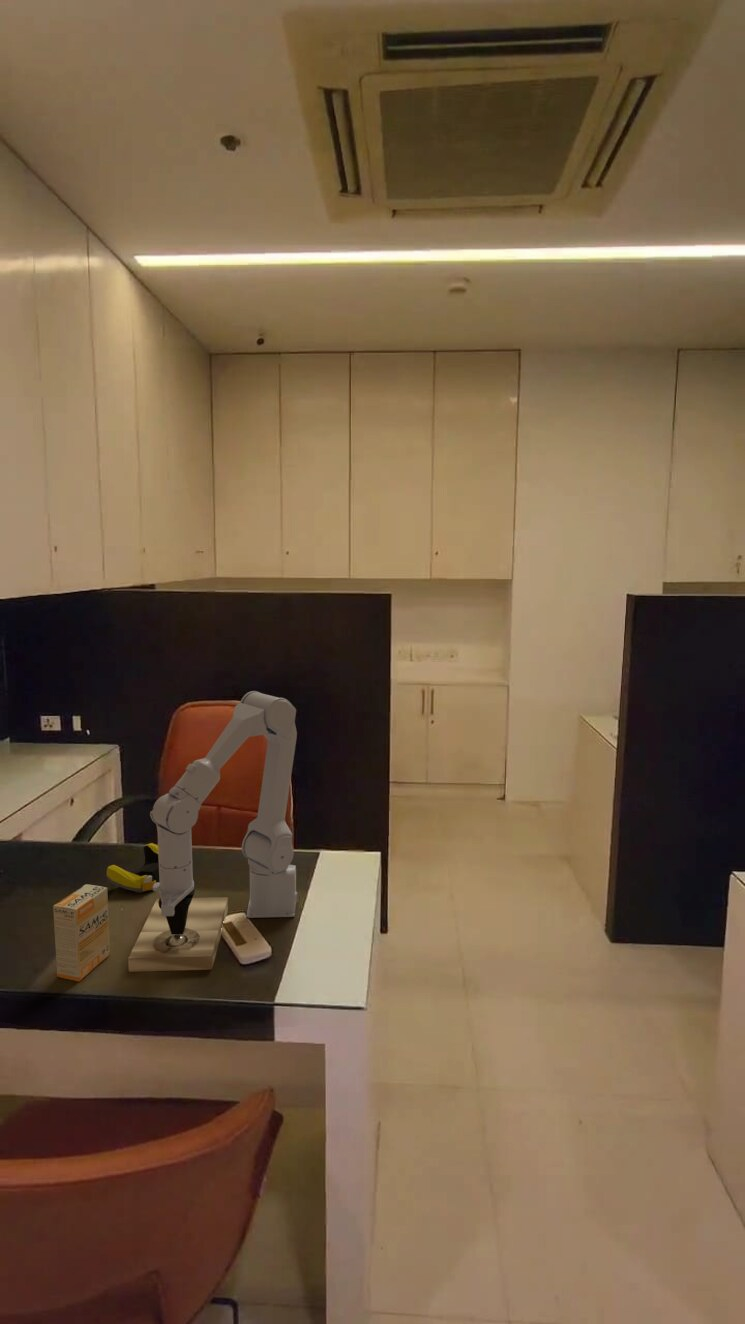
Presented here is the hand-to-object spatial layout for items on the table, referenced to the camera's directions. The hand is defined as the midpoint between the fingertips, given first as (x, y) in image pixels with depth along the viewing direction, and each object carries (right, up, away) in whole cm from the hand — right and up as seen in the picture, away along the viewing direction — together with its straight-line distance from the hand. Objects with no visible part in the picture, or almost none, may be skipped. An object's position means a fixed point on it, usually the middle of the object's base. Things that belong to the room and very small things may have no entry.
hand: (178, 932), depth 122 cm
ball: (0, -2, -1) cm, 2 cm away
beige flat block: (0, -3, +4) cm, 5 cm away
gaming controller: (-14, +1, +26) cm, 29 cm away
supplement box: (-15, -4, -5) cm, 16 cm away
